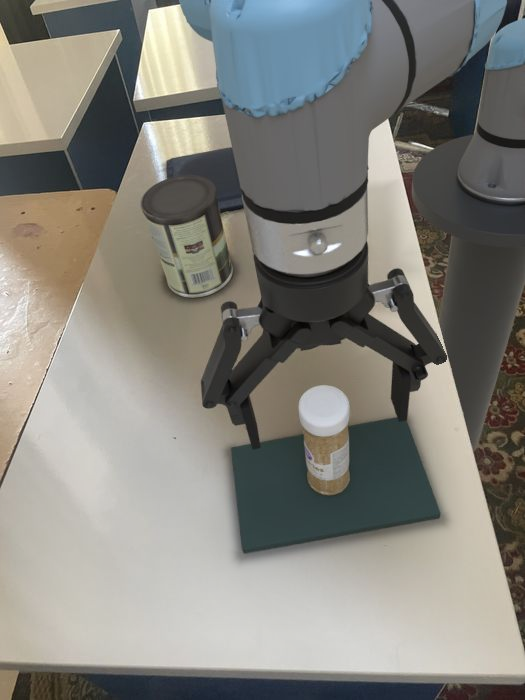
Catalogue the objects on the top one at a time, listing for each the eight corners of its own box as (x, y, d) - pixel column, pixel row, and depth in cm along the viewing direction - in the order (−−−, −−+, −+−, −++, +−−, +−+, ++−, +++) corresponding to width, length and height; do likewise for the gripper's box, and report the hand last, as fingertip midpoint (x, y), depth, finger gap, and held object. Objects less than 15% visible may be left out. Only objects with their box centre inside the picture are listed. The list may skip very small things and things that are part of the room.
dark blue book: (164, 153, 108) (243, 139, 108) (167, 162, 110) (244, 148, 110) (164, 213, 95) (253, 197, 95) (167, 222, 97) (255, 207, 96)
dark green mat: (404, 420, 65) (404, 415, 64) (439, 518, 57) (441, 513, 56) (232, 451, 65) (230, 447, 64) (243, 553, 57) (242, 549, 56)
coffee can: (204, 244, 91) (184, 166, 81) (246, 271, 86) (231, 190, 75) (153, 278, 87) (125, 200, 77) (194, 308, 82) (170, 228, 71)
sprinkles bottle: (298, 476, 61) (287, 402, 51) (330, 451, 62) (324, 374, 52) (328, 506, 58) (321, 434, 48) (360, 478, 60) (360, 404, 50)
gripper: (119, 320, 35) (197, 483, 50) (524, 241, 34) (474, 431, 50) (123, 244, 40) (193, 415, 55) (477, 174, 39) (445, 367, 55)
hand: (326, 423), depth 53 cm, fingers open, 13 cm apart
